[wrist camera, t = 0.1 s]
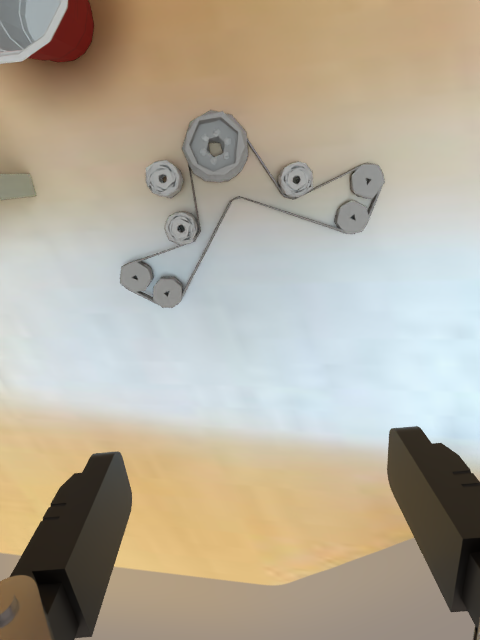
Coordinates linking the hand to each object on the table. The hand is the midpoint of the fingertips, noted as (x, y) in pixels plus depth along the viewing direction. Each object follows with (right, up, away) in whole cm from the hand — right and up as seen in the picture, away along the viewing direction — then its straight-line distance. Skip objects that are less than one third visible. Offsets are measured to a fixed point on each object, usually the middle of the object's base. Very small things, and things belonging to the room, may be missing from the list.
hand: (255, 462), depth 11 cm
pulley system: (-1, +16, +26) cm, 31 cm away
